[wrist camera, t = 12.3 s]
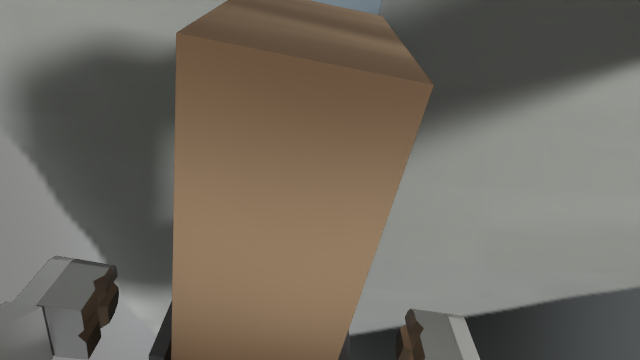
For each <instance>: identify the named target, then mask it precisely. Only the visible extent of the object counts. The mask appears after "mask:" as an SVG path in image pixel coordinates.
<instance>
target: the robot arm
mask: <svg viewBox="0 0 640 360" xmlns="http://www.w3.org/2000/svg"><path fill="white" fill-rule="evenodd" d="M116 277H117V269H116V266H114V265H109V264H103V263H97V262H91V261H85V260H80V259H71V258H66V257H60V256H55V257H53V258H51V259H50V260H49V261H48V262H47V263H46V264H45V265H44V266H43V268H42V269H41V270H40V271H39V272H38V273H37V274H36V276H35V277H34V278H33V279H32V280H31V282H30V283H29V284H28V285H27V286H26V287H25V289H23V291H22V292H21V293H20V294H19V295H18V296H17V298H16V299H15V300H14V301H13V302H5V303H3V304H0V360H51V359H53V356H57V357H68V358H77V359H89V358H90V356H91V354H92V353H93V351H94V349H95V347H96V345H97V344H98V342H99V340H100V338H101V331H100V328H102V327H103V326H105V325H107V324H108V323H109V322H110V320H111V319H112V317H113V315H114V313H115V310H116V307H117V304H118V297H119V289H118V287H117V286H116V285H115V284H114V281H115V279H116ZM405 320H406V325H404V326H403V327H401V328H400V330H399V332H398V335H397V340H396V357H397V360H480V359H479V356H478V354H477V351H476V348H475V345H474V343H473V340H472V337H471V335H470V332H469V330H468V327H467V324H466V322H465V319H464V318H463V317H462V316H460V315H453V314H446V313H444V314H443V313H439V312H432V311H424V310H417V309H410V310H409V311H408V312H407V314H406V316H405Z"/></svg>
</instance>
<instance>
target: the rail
mask: <svg viewBox="0 0 640 360" xmlns="http://www.w3.org/2000/svg"><path fill="white" fill-rule="evenodd" d="M433 87H434V84H433V83H432V82H431V80H430V79H429V78H428V76H427V75H426V74H425V72H424V71H423V70H422V68H421V67H420V66H419V64H418V63H417V62H416V60H415V59H414V58H413V56H412V55H411V54H410V52H409V51H408V50H407V48H406V47H405V46H404V44H403V43H402V42H401V40H400V39H399V38H398V36H397V35H396V34H395V32H394V31H393V30H392V28H391V27H390V26H389V24H388V23H387V22H386V20H385V19H384V18H383V16H380V15H375V14H371V13H366V12H361V11H357V10H352V9H348V8H343V7H338V6H334V5H329V4H324V3H320V2H315V1H311V0H228V1H226V2H224V3H223V4H221V5H220V6H218V7H217V8H215V9H213V10H212V11H210V12H209V13H207V14H205V15H204V16H202V17H201V18H199V19H198V20H196V21H194V22H193V23H191V24H190V25H188V26H186V27H185V28H183V29H182V30H180V31H179V32H177V33H176V91H175V155H174V219H173V283H172V347H171V360H338V358H339V355H340V353H341V350H342V347H343V344H344V341H345V338H346V335H347V332H348V330H349V327H350V324H351V321H352V318H353V315H354V312H355V310H356V307H357V304H358V301H359V298H360V295H361V292H362V290H363V287H364V284H365V281H366V278H367V275H368V272H369V270H370V267H371V264H372V261H373V258H374V255H375V252H376V250H377V247H378V244H379V241H380V238H381V235H382V232H383V230H384V227H385V224H386V221H387V218H388V215H389V212H390V210H391V207H392V204H393V201H394V198H395V195H396V192H397V190H398V187H399V184H400V181H401V178H402V175H403V172H404V170H405V167H406V164H407V161H408V158H409V155H410V152H411V150H412V147H413V144H414V141H415V138H416V135H417V132H418V129H419V127H420V124H421V121H422V118H423V115H424V112H425V109H426V107H427V104H428V101H429V98H430V95H431V92H432V89H433Z"/></svg>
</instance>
